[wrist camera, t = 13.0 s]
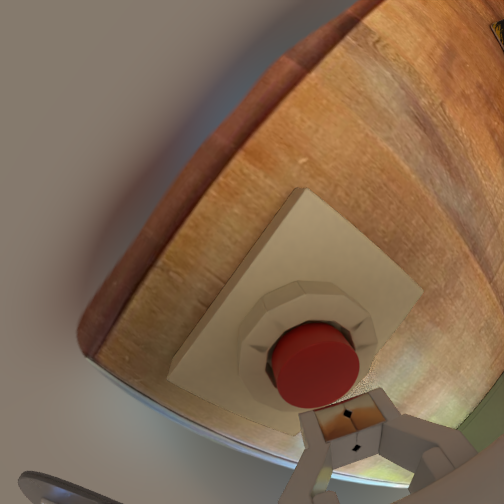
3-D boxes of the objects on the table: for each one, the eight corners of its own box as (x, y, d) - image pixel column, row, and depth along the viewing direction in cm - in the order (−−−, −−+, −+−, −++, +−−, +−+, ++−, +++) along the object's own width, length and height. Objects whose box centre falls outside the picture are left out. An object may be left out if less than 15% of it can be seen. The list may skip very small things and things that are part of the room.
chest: (522, 395, 23) (553, 422, 14) (469, 457, 25) (494, 489, 16) (505, 369, 20) (550, 406, 12) (433, 451, 22) (466, 498, 13)
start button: (312, 395, 13) (321, 417, 11) (255, 367, 12) (259, 391, 11) (360, 343, 13) (375, 362, 11) (305, 307, 12) (316, 326, 10)
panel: (288, 415, 18) (299, 456, 14) (172, 358, 16) (159, 401, 12) (404, 279, 16) (443, 302, 12) (295, 187, 14) (319, 187, 10)
